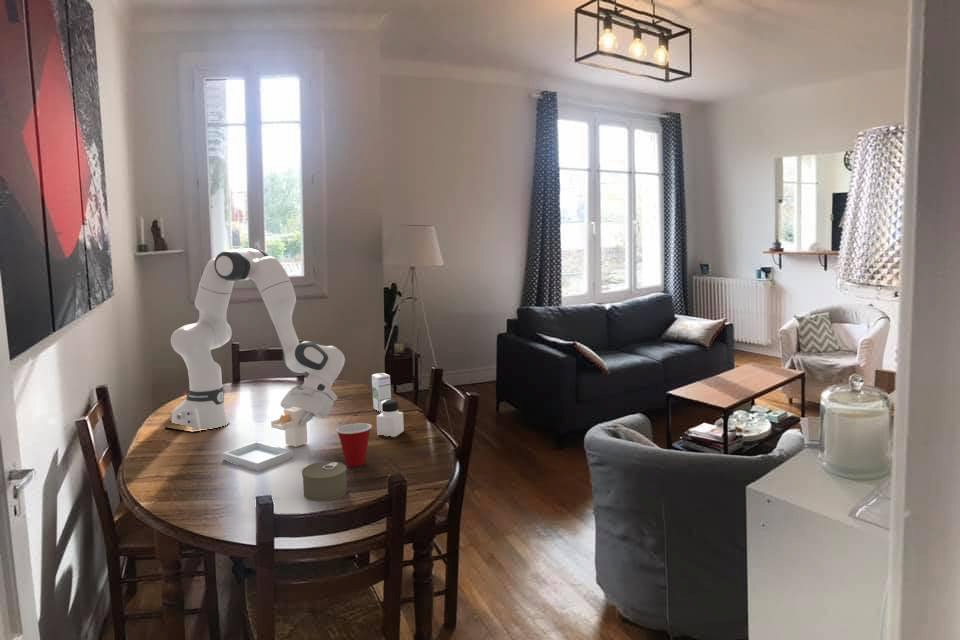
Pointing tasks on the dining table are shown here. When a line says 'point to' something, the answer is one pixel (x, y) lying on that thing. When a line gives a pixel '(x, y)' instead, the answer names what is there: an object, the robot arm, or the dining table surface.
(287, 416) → the ball
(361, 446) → the plastic cup
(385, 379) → the syrup box
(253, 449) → the tray
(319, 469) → the can
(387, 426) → the medicine bottle
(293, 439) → the white block with shelf
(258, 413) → the dining table surface
